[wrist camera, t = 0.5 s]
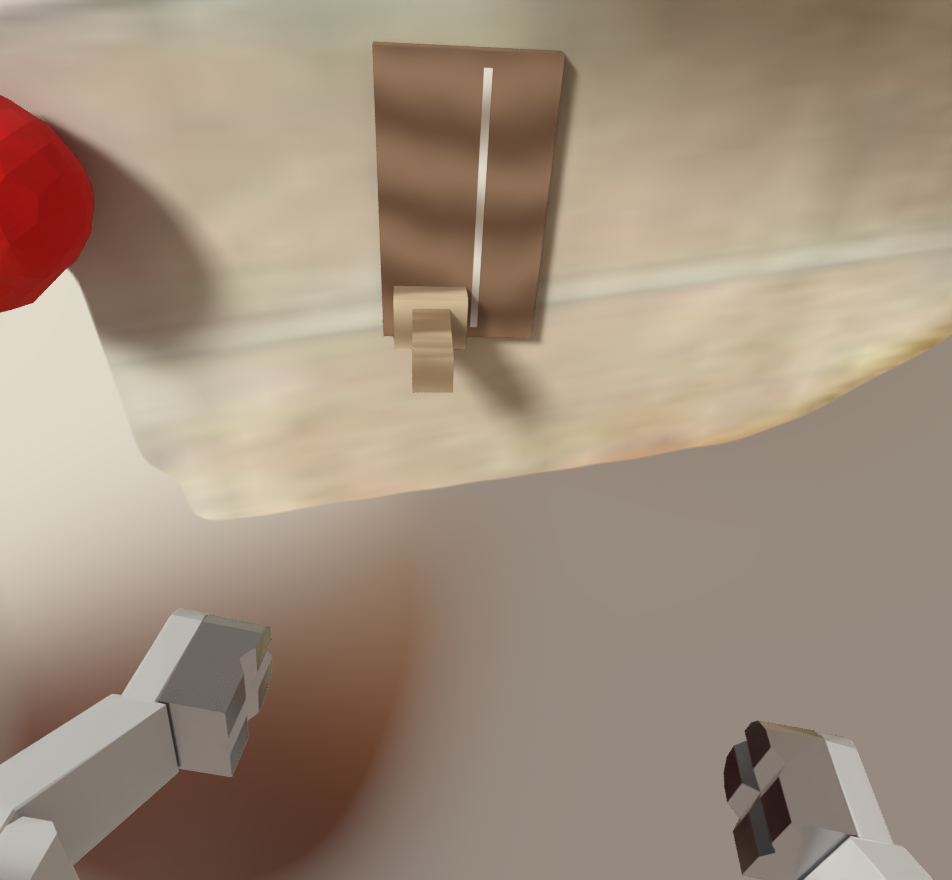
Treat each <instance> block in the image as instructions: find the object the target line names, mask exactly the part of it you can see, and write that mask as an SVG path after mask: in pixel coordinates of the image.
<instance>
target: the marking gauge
mask: <svg viewBox="0 0 952 880" xmlns="http://www.w3.org/2000/svg"><path fill="white" fill-rule="evenodd" d="M393 308H394V345H395V349H412V380H413V392H447V393H453V370H454V354H453V349H466V334H467V314H468V296H467V289H466V287H430V286H394V295H393Z"/></svg>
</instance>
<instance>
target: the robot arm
mask: <svg viewBox="0 0 952 880" xmlns="http://www.w3.org/2000/svg"><path fill="white" fill-rule="evenodd" d="M271 639H272V638H271V627H269V626H264V625H259V624H254V623H250V622H245V621H240V620H235V619H231V618H226V617H221V616H216V615H211V614H208V613H203V612H198V611H193V610H187V609H182V608H178V609H177V610H176V611H175V612H174V613H173V614H172V615H171V616H170V617H169V619H168V621H167V622H166V624H165V625H164V627H163V629H162V630H161V632H160V633H159V635H158V637H157V639H156V640H155V642H154V643H153V645H152V646H151V648H150V650H149V651H148V653H147V655H146V656H145V658H144V659H143V661H142V663H141V664H140V666H139V668H138V669H137V671H136V672H135V674H134V676H133V677H132V679H131V680H130V682H129V684H128V685H127V687H126V689H125V690H124V692H123V694H122V695H117V694H111V695H110V696H108V697H106V698H105V699H103V700H102V701H100V702H98V703H97V704H95V705H94V706H92V707H91V708H89V709H87V710H86V711H84V712H83V713H81V714H79V715H78V716H77V717H75V718H73V719H72V720H70V721H68V722H67V723H65V724H64V725H62V726H61V727H59V728H57V729H56V730H54V731H53V732H51V733H50V734H48V735H46V736H45V737H43V738H42V739H40V740H39V741H37V742H35V743H34V744H32V745H31V746H29V747H28V748H26V749H25V750H23V751H21V752H20V753H18V754H16V755H15V756H13V757H12V758H10V759H9V760H7V761H6V762H4V763H2V764H1V765H0V880H79V878H78V876H77V874H76V872H75V870H74V868H73V865H74V864H75V863H76V862H77V861H78V860H80V859H81V858H82V857H83V856H84V855H85V854H86V853H87V852H89V851H90V850H91V849H92V848H93V847H94V846H95V845H97V844H98V843H99V842H100V841H101V840H102V839H103V838H105V837H106V836H107V835H108V834H109V833H110V832H111V831H112V830H114V829H115V828H116V827H117V826H118V825H119V824H120V823H122V822H123V821H124V820H125V819H126V818H127V817H128V816H129V815H131V814H132V813H133V812H134V811H135V810H136V809H137V808H139V807H140V806H141V805H142V804H143V803H144V802H145V801H146V800H148V799H149V798H150V797H151V796H152V795H153V794H154V793H155V792H156V791H158V790H159V789H160V788H161V787H162V786H163V785H164V784H166V783H167V782H168V781H169V780H170V779H171V778H172V777H174V776H175V775H176V774H177V773H178V772H179V770H178V768H179V769H185V770H192V771H198V772H204V773H210V774H216V775H222V776H228V777H232V775H233V773H234V771H235V768H236V766H237V763H238V761H239V759H240V756H241V754H242V752H243V749H244V747H245V744H246V742H247V740H248V722H247V721H248V720H249V719H250V718H252V717H253V716H254V715H256V714H257V713H258V712H259V710H260V708H261V705H262V703H263V700H264V698H265V695H266V692H267V688H268V685H269V681H270V677H271V670H272V656H271V654H270V653H269V652H268V651H267V649H268V647H269V644H270V642H271ZM745 735H746V739H747V741H744V742H742V743H739V744H736V745H734V746H733V748H732V749H731V751H730V752H729V754H728V756H727V758H726V763H725V768H724V788H725V793H726V799H727V803H728V804H729V806H730V807H731V808H732V810H733V811H734V812H735V814H736V815H737V816H738V817H739V820H738V822H737V824H736V826H735V828H734V830H733V834H734V838H735V844H736V849H737V853H738V858H739V862H740V868H741V872H742V875H744V876H749V877H753V878H757V879H762V880H933V879H932V878H931V877H930V876H929V875H928V874H927V873H926V872H925V870H924V869H923V868H922V867H921V866H920V865H919V864H918V863H917V861H916V860H915V859H914V858H913V857H912V856H911V855H910V854H909V853H908V852H907V850H906V849H905V848H904V847H903V846H900V845H896V844H893V842H892V839H891V836H890V834H889V831H888V829H887V826H886V824H885V821H884V819H883V816H882V813H881V811H880V808H879V806H878V803H877V801H876V798H875V795H874V793H873V790H872V788H871V785H870V783H869V780H868V777H867V775H866V772H865V770H864V767H863V765H862V762H861V760H860V757H859V755H858V752H857V749H856V747H855V745H854V744H853V743H852V742H851V741H850V739H848V738H845V737H842V736H837V735H831V734H826V733H820V732H815V731H814V730H809V729H803V728H797V727H792V726H786V725H781V724H775V723H769V722H763V721H755V722H751V723H750V724H749V726H748V727H747V728H746V730H745Z"/></svg>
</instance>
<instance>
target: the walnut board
mask: <svg viewBox="0 0 952 880" xmlns="http://www.w3.org/2000/svg"><path fill="white" fill-rule="evenodd" d="M372 46H373V72H374V98H375V124H376V150H377V176H378V202H379V228H380V254H381V279H382V305H383V331H384V336H394V308H393V295H394V286H430V287H466V289H467V296H468V314H467V334H466V337H531V334H532V326H533V317H534V309H535V301H536V293H537V284H538V276H539V268H540V259H541V251H542V243H543V235H544V226H545V218H546V210H547V202H548V193H549V185H550V177H551V169H552V160H553V152H554V144H555V136H556V127H557V119H558V111H559V103H560V94H561V86H562V78H563V70H564V61H565V54H564V53H563V52H562V51H551V50H530V49H510V48H490V47H470V46H449V45H429V44H409V43H389V42H373V45H372Z"/></svg>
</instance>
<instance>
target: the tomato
mask: <svg viewBox="0 0 952 880" xmlns="http://www.w3.org/2000/svg"><path fill="white" fill-rule="evenodd" d="M93 209H94V197H93V190H92V186H91V184H90V181H89V178H88V176H87V174H86V171H85V169H84V166H83V165H82V164H81V163H80V161H79V160H78V159H77V158H76V157H75V155H74V154H73V153H72V152H71V150H70V149H69V148H68V147H67V146H66V144H65V143H64V142H63V141H62V139H61V138H60V137H59V136H58V135H57V133H56V132H55V131H54V130H53V129H52V128H51V127H50V126H49V125H48V124H46V123H45V122H43V121H41V120H40V119H38V118H37V117H35V116H34V115H32V114H31V113H29V112H28V111H26V110H25V109H23V108H21V107H20V106H18V105H17V104H15V103H14V102H12V101H11V100H9V99H7V98H5V97H3V96H1V95H0V312H4V311H8V310H12V309H15V308H18V307H22V306H25V305H28V304H31V303H33V302H34V301H35V300H36V299H37V298H38V297H39V296H40V295H41V294H42V293H43V292H44V291H45V290H46V289H47V288H48V287H49V286H50V285H51V284H52V283H53V282H54V281H55V280H56V279H57V278H58V277H59V276H60V275H61V273H63V272H64V270H65V269H67V268H68V267H69V266H70V265H71V264H73V263H74V262H75V261H76V260H77V258H78V256H79V255H80V253H81V251H82V249H83V247H84V246H85V244H86V242H87V240H88V238H89V236H90V234H91V230H92V220H93Z"/></svg>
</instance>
